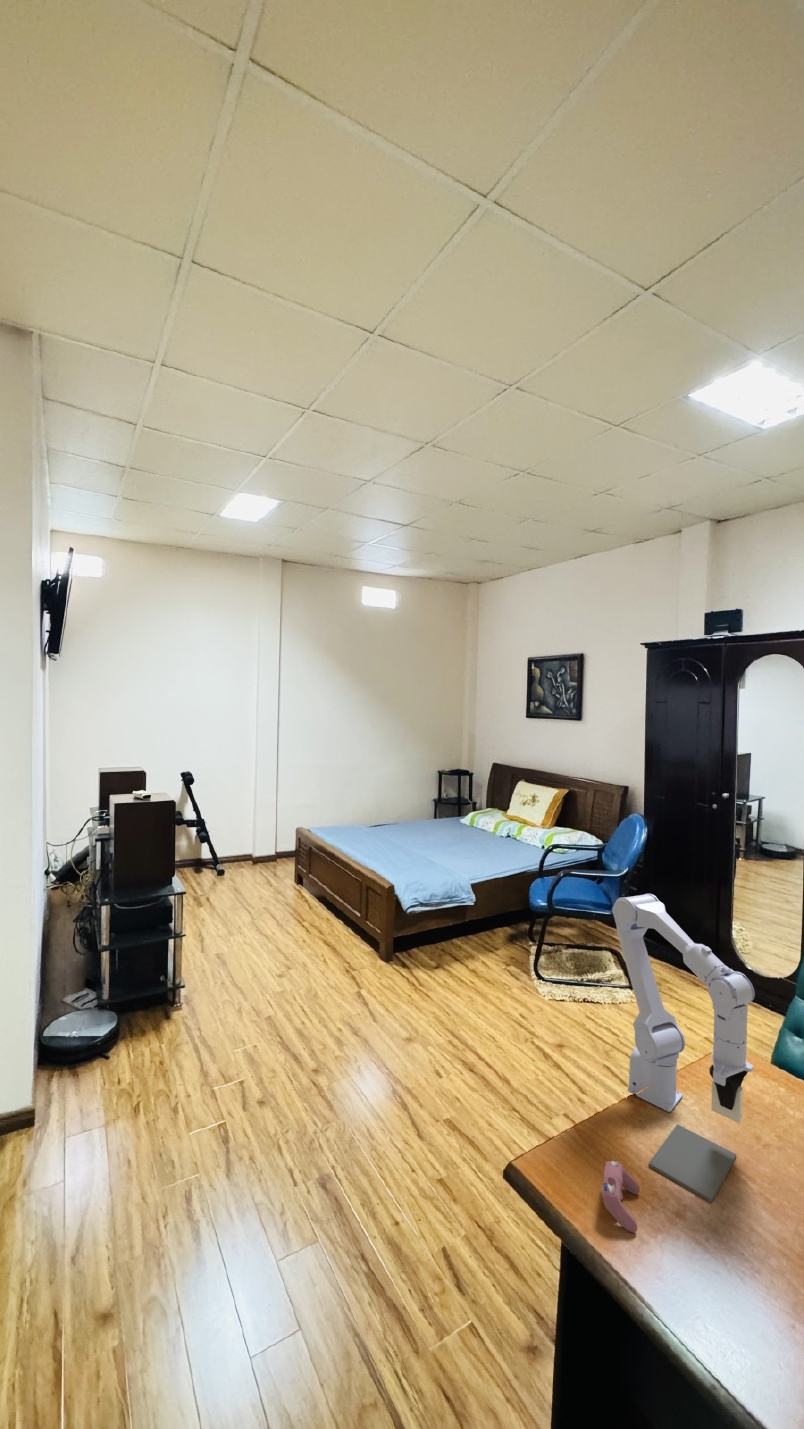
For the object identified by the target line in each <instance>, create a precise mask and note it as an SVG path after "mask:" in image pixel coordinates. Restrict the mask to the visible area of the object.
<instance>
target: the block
mask: <svg viewBox="0 0 804 1429" xmlns="http://www.w3.org/2000/svg"><path fill="white" fill-rule="evenodd" d="M743 1089H744V1088H743V1087H742V1086H741V1087H740V1086H739V1087H738V1090H737V1093H736V1098H735V1103H734V1107H733V1109H732V1110H729V1109H727V1108H725V1107H723V1106H721V1105H720V1102H719V1098H718V1093H717V1089H716V1085H715V1083H714V1082H713V1079H712V1080H711V1112H714V1113H716V1114H718V1115H720V1116H723V1117H725V1118H727V1119H729V1120H732V1121H734V1122H736V1123H739V1124H740V1123H742V1122H741V1121H742V1120H743V1107H744V1106H743V1105H744V1104H743V1101H744V1100H743V1097H744V1096H743V1095H744V1094H743V1093H744V1092H743V1091H744V1090H743Z"/></svg>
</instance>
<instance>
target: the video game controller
mask: <svg viewBox="0 0 804 1429" xmlns="http://www.w3.org/2000/svg"><path fill="white" fill-rule="evenodd" d="M622 1188H624V1189H625V1190H626V1191H627V1192H629V1193H631V1194H634V1195H638V1194H640V1192H641V1190H640V1185H639V1183H638V1182H637V1180H636V1179H635V1178H634V1177H633V1176H632V1175H631V1174H630V1173H629V1172H628V1171H627V1170H626V1168H625V1167H624V1166H623V1165H622V1163H620V1162H619V1161H618V1160H617V1161H615V1160H610V1161H609V1160H607V1161H606V1162H605V1166H604V1170H603V1185H602V1186H601V1190H600V1191H601V1196H602V1201H603V1204H604V1207H605V1209H606V1210H607V1212H609V1213H610V1214H611V1215H612V1217H613V1218H614V1219H615V1221H617V1223H618V1224H619V1225H620V1226H622V1227H623V1228H624V1229H625V1230H626V1231H628V1232H630V1233H632V1234H633V1233H636V1232H637V1231H638V1223H637V1221H636V1219H635V1218H634V1216H632V1214H631V1213H630V1212H629V1211H628V1209H627V1208H626V1207H625V1206H624V1204H623V1203H622V1201H623V1200H624V1199H623V1198H624V1195H623V1194H624V1193H623V1189H622Z"/></svg>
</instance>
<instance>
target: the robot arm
mask: <svg viewBox="0 0 804 1429" xmlns="http://www.w3.org/2000/svg"><path fill="white" fill-rule="evenodd" d="M611 912H612V915H613V918H614V923H615V926H616V933H617V937H618V941H619V945H620V947H621V951H622V954H623V959H624V962H625V965H626V969H627V973H628V976H629V979H630V980H629V981H630V983H631V987H632V990H633V994H634V997H635V1001H636V1005H637V1008H638V1014H637V1015H636V1018H635V1020H634V1021H633V1022H632V1024H633V1026H632V1027H633V1028H634V1043H635V1046H634V1047H633V1050H632V1051H631V1054H630V1057H629V1067H628V1068H629V1070H628V1071H629V1072H628V1074H629V1076H628V1087H627V1092H628V1093H630V1094H632V1095H634V1094H636V1093H637V1092H639V1091H640V1090H642V1089H644V1088H645V1087H648V1088H646V1089H644V1090H643V1091H642V1092H640V1093H638V1094H636V1095H637V1096H636V1095H635V1096H636V1097H638V1098H640V1099H642V1100H644V1101H645V1102H648V1103H650V1104H652V1105H654V1106H656V1107H658V1108H660V1109H662V1110H664V1111H665V1112H668V1113H670V1112H672V1110H674V1108H675V1107H676V1106H677V1104H678V1103H679V1102H680V1100H681V1099H682V1098H683V1097H684V1095H683V1093H681V1092H680V1091H678V1090H677V1071H678V1068H677V1067H678V1066H677V1064H678V1059H679V1058H680V1053H682V1052H683V1051H684V1050H685V1048H686V1039H685V1035H684V1033H683V1032H682V1030H681V1029H680V1027H679V1026H678V1023H677V1020H676V1017H675V1016H674V1015H673V1014H671V1012H669V1011H667V1010H666V1009H665V1007H664V1004H663V1001H662V997H661V994H660V991H659V986H658V984H657V980H656V978H655V974H654V970H653V968H652V964H651V961H650V957H649V954H648V950H647V947H646V943H645V941H644V935H645V934H646V932H647V930H648V929H654V930H655V931H656V932H658V933H659V934H660V935H661V936H662V937H663V938H664V939H665V940H666V941H668V942H669V943H670V944H671V945H672V946H673V947H674V948H676V950H678V952H680V953H681V954H682V959H683V963H684V964H685V965H686V966H687V968H688V969H690V970H691V971H692V972H693V974H695V975H696V977H698V979H699V980H701V982H702V983H703V984H704V985H705V986H706V987H707V993H708V995H709V997H710V999H711V1002H712V1009H713V1014H714V1015H713V1040H712V1041H713V1044H712V1046H713V1047H712V1049H713V1050H712V1052H711V1060H712V1064H711V1066H709V1070H708V1071H709V1075H710V1077H711V1078H712V1080H713V1082H714V1083H715V1085H716V1089H717V1093H718V1098H719V1102H720V1105H721V1106H723V1107H725V1108H727V1109H729V1110H732V1109H733V1107H734V1103H735V1098H736V1093H737V1090H738V1087H739V1086H740V1087H742V1083H743V1081H744V1080H745V1079H744V1078H746V1076H747V1075H748V1073H751V1072H753V1070H754V1065H753V1064H752V1063H750V1062H748V1060H747V1044H748V1043H747V1042H748V1041H747V1039H748V1038H747V1037H748V1034H747V1033H748V1006H749V1005H748V1004H750V1003H752V1002H753V1001H754V999H755V996H756V994H755V989H754V986H753V983H752V982H751V980H750V979H749V978H748V977H747V976H746V975H745V974H744V973H743V972H740V971H734V970H733V969H732V968H729V967H728V966H727V965H726V964H725V963H723V961H721V960H720V958H718V957H717V955H715V954H714V953H713V952H712V949H711V948H710V947H709V946H706V945H705V944H703V943H696V942H694V941H693V940H692V939H691V938H690V936H688V934H687V933H686V932H685V931H684V930H683V929H682V928H681V927H680V925H679V924H677V922H676V921H675V920H674V919H673V918H672V917H671V916H670V915H669V914H668V913H667V910H666V906H665V904H664V903H663V902H661V901H660V900H659V899H658V897H657V896H656V895H654V894H652V893H645V894H640V895H634V896H627V897H625V896H624V897H619V898H617V899H616V900H615V903H614V904H613V906H612V907H611ZM652 1084H653V1085H652ZM651 1085H652V1086H651Z"/></svg>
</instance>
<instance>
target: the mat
mask: <svg viewBox="0 0 804 1429" xmlns="http://www.w3.org/2000/svg"><path fill="white" fill-rule="evenodd" d="M736 1158H737V1153H734V1152H733V1151H731V1150H729V1149H727V1148H724V1147H723V1146H721V1145H719V1144H717V1143H715V1142H713V1141H711V1140H709V1139H708V1138H705V1137H703V1136H702V1135H699V1134H697V1133H695V1132H694V1131H691V1130H690V1129H688V1128H686V1127H684V1126H682V1125H680V1124H678V1123H677V1124H676V1125H675V1126H674V1127H673V1129H672V1131H671V1132H669V1135H668V1136H667V1137H666V1139H665V1140H664V1141H663V1143H662V1144H661V1146H660V1147H659V1149H658V1150H657V1151H655V1154H654V1155H653V1156H652V1158H651V1159H650V1160H649V1161H648V1167H649V1168H651V1169H653V1170H654V1171H656V1172H658V1173H659V1174H661V1175H663V1176H664V1177H666V1178H669V1179H670V1180H671V1181H673V1182H675V1183H676V1184H678V1185H680V1186H682V1187H684V1188H685V1189H687V1190H689V1191H690V1192H692V1193H694V1194H695V1195H697V1196H699V1197H701V1198H703V1199H705V1200H706V1201H708V1202H709V1203H713V1201H714V1199H715V1197H716V1196H717V1194H718V1192H719V1190H720V1189H721V1186H722V1184H723V1182H724V1181H725V1179H726V1177H727V1175H728V1173H729V1172H730V1170H731V1168H732V1166H733V1164H734V1162H735V1160H736Z"/></svg>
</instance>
